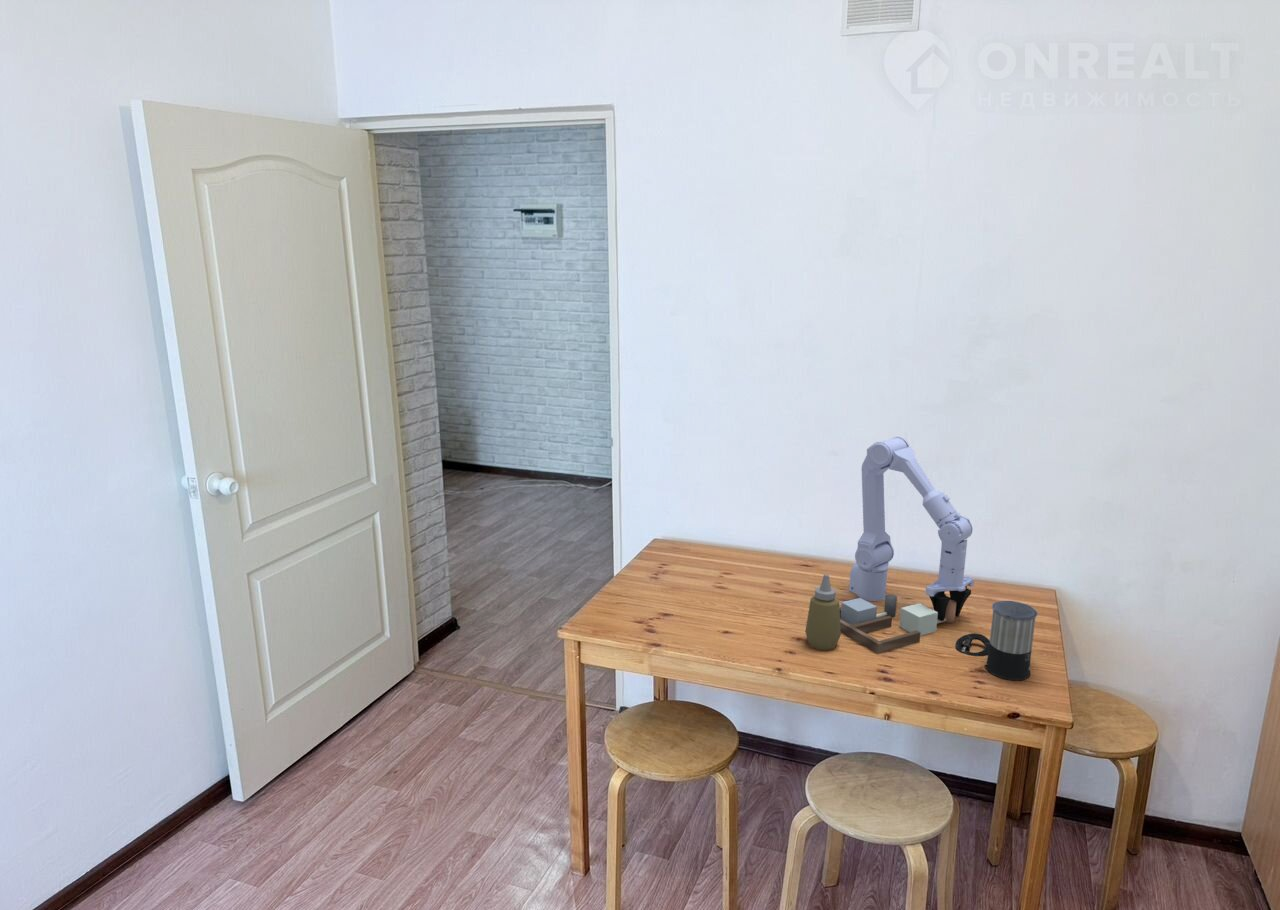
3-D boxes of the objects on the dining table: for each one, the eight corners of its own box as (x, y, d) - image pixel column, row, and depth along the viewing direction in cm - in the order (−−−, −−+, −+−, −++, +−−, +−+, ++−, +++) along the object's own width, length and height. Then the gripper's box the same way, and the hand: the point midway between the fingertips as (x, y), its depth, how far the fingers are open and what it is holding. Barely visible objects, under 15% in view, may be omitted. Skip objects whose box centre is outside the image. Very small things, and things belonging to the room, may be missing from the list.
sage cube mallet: (899, 626, 200) (901, 607, 199) (943, 614, 207) (945, 596, 206) (917, 636, 195) (919, 617, 194) (962, 624, 202) (964, 605, 201)
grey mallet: (840, 620, 204) (841, 602, 202) (885, 609, 210) (886, 591, 209) (856, 630, 198) (858, 611, 197) (902, 618, 205) (904, 599, 204)
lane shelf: (821, 624, 204) (822, 611, 203) (904, 602, 216) (905, 591, 216) (877, 657, 187) (878, 644, 186) (964, 632, 200) (965, 619, 199)
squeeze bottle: (833, 658, 186) (837, 584, 182) (799, 649, 191) (803, 577, 186) (844, 644, 193) (849, 573, 189) (811, 636, 197) (815, 566, 193)
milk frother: (1030, 685, 175) (1038, 621, 172) (952, 670, 181) (958, 608, 178) (1029, 656, 188) (1036, 596, 184) (956, 643, 194) (962, 584, 191)
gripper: (943, 576, 193) (938, 629, 197) (986, 566, 200) (980, 617, 203) (920, 566, 199) (916, 618, 203) (963, 557, 206) (958, 607, 209)
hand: (947, 617), depth 203 cm, fingers closed on sage cube mallet, 5 cm apart
